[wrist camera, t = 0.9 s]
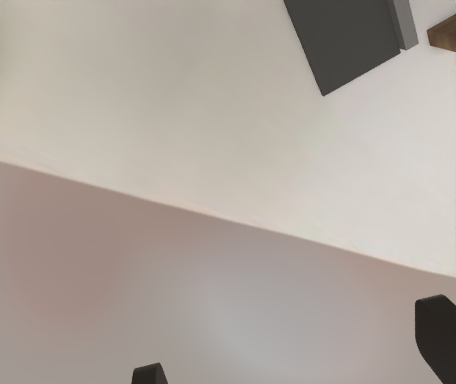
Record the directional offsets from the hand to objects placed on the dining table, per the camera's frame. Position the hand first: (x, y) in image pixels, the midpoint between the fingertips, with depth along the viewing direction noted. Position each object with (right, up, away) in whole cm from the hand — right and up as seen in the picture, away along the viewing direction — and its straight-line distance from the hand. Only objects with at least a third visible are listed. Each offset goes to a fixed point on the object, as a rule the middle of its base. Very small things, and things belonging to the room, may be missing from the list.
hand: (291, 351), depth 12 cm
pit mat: (+8, +20, +22) cm, 31 cm away
